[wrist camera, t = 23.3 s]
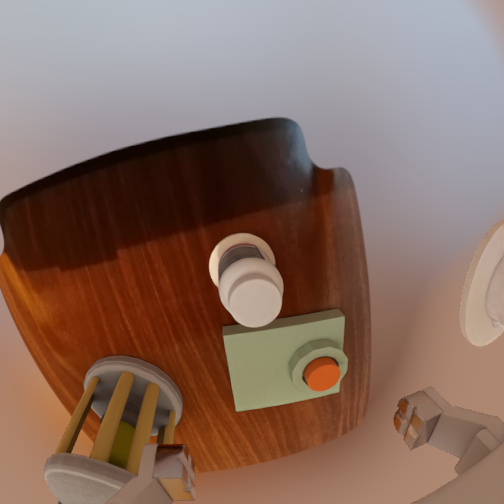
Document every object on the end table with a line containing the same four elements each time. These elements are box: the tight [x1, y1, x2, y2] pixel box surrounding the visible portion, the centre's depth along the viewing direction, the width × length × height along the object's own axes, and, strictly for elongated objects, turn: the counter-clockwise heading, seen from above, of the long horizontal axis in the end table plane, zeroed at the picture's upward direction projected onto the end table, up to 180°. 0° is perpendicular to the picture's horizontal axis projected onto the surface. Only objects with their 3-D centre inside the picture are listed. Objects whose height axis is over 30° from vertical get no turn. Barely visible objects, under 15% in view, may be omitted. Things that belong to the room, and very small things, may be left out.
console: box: [223, 309, 348, 411], centre depth 32 cm, size 14×12×4 cm
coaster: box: [209, 233, 275, 288], centre depth 31 cm, size 7×7×1 cm
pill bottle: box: [218, 242, 283, 327], centre depth 26 cm, size 5×5×10 cm
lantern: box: [44, 355, 183, 504], centre depth 21 cm, size 14×14×25 cm
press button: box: [304, 357, 341, 391], centre depth 30 cm, size 4×4×2 cm
